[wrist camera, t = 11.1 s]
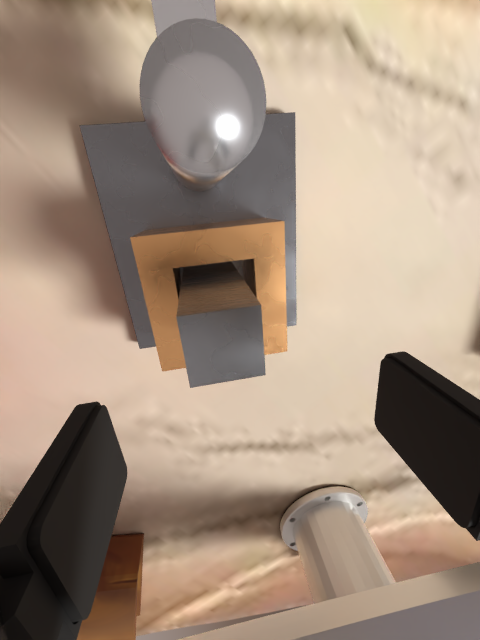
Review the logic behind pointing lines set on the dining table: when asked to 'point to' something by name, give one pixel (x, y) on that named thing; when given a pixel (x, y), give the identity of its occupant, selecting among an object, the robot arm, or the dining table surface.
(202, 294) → the grey rectangular block
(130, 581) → the diary
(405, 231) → the dining table surface
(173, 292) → the grey stepped fixture
